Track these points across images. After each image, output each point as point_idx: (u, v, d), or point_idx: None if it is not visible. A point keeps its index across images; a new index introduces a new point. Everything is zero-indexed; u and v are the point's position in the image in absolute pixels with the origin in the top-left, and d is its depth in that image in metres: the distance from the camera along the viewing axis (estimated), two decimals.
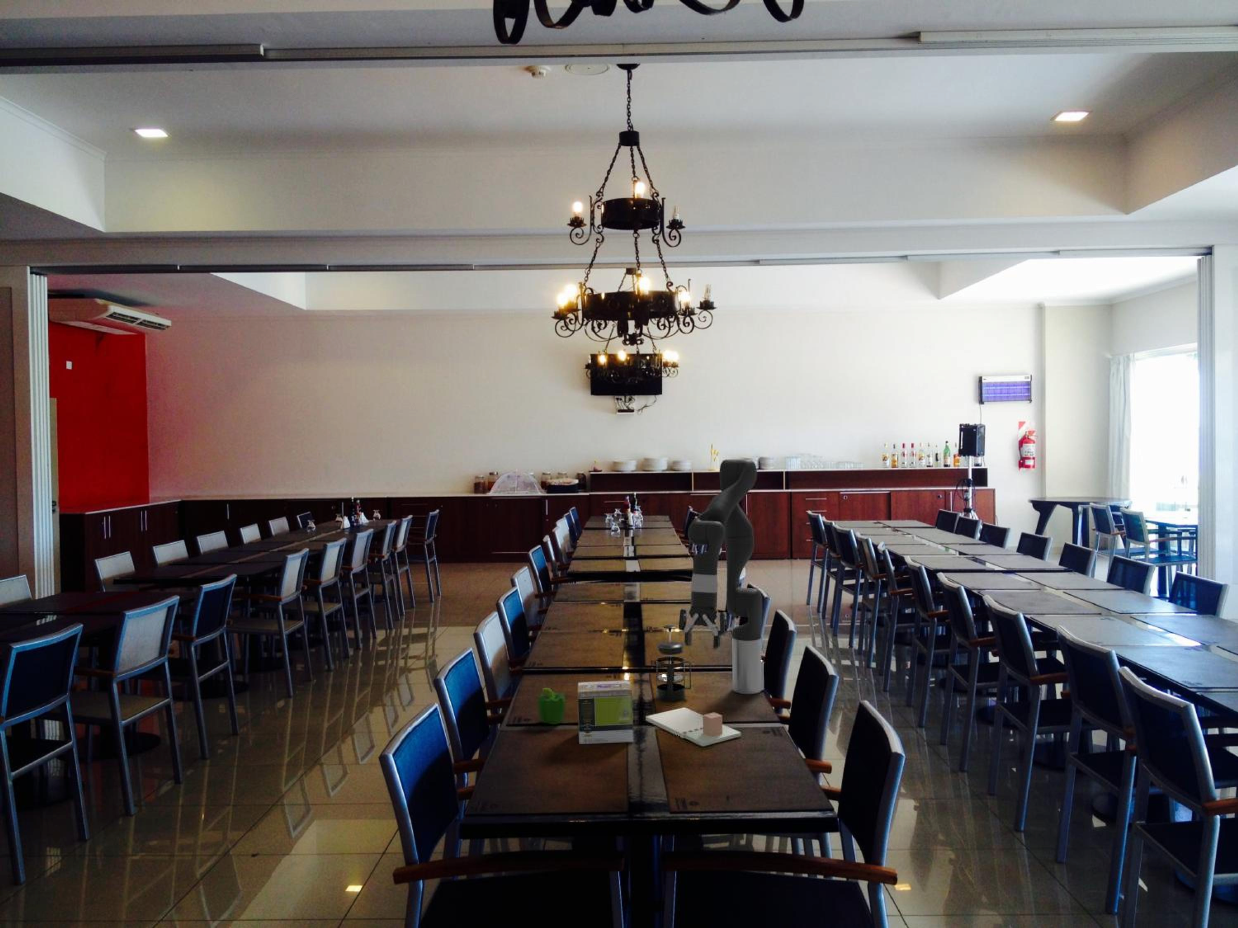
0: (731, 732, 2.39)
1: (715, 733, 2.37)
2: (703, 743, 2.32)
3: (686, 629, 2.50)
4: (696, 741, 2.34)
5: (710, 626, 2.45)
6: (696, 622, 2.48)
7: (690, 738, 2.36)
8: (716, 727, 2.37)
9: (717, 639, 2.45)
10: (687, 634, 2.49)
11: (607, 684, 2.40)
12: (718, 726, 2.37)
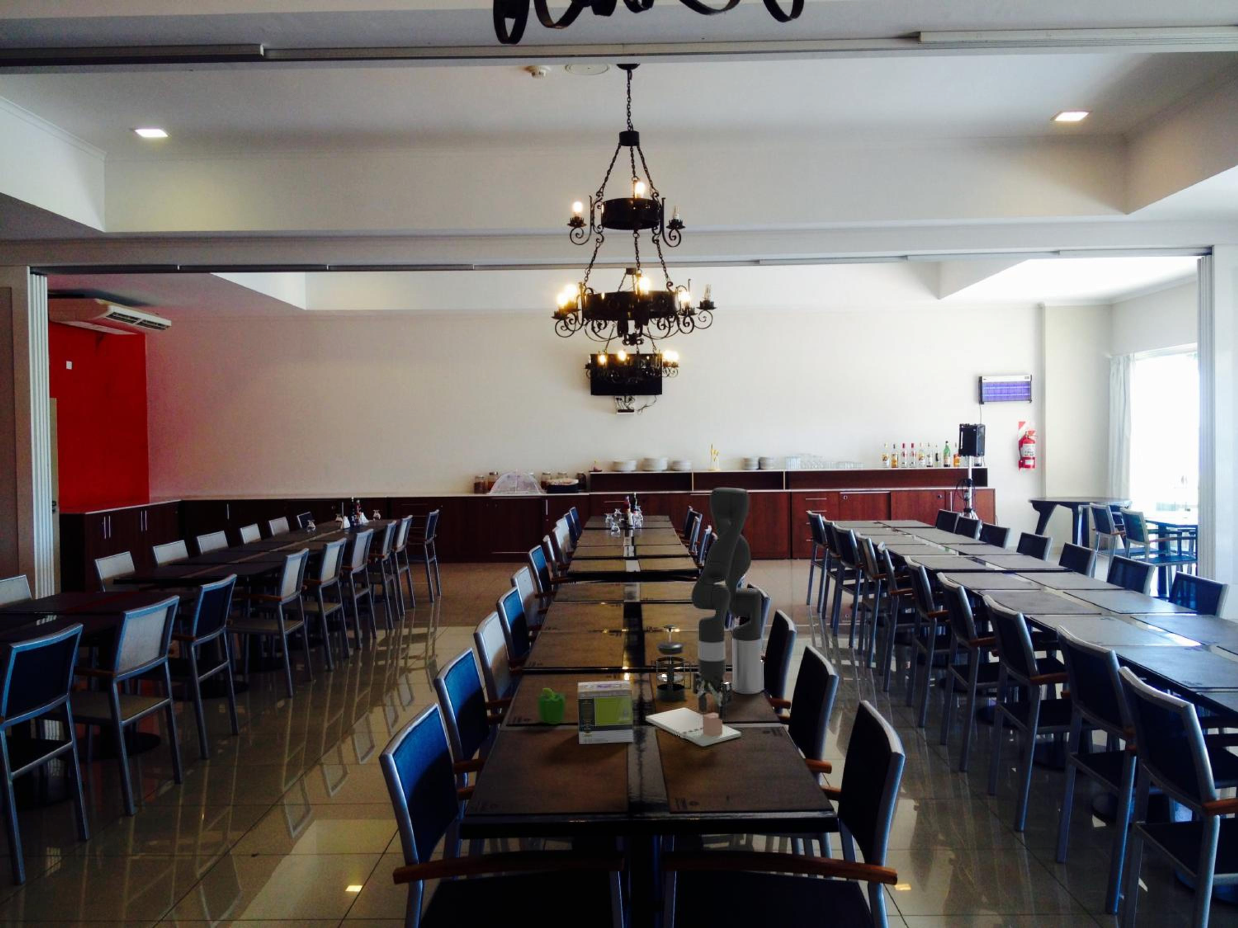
0: (731, 732, 2.39)
1: (715, 733, 2.37)
2: (703, 743, 2.32)
3: (698, 694, 2.41)
4: (696, 741, 2.34)
5: (714, 695, 2.34)
6: (705, 689, 2.38)
7: (690, 738, 2.36)
8: (716, 727, 2.37)
9: (721, 710, 2.33)
10: (699, 699, 2.41)
11: (607, 684, 2.40)
12: (718, 726, 2.37)
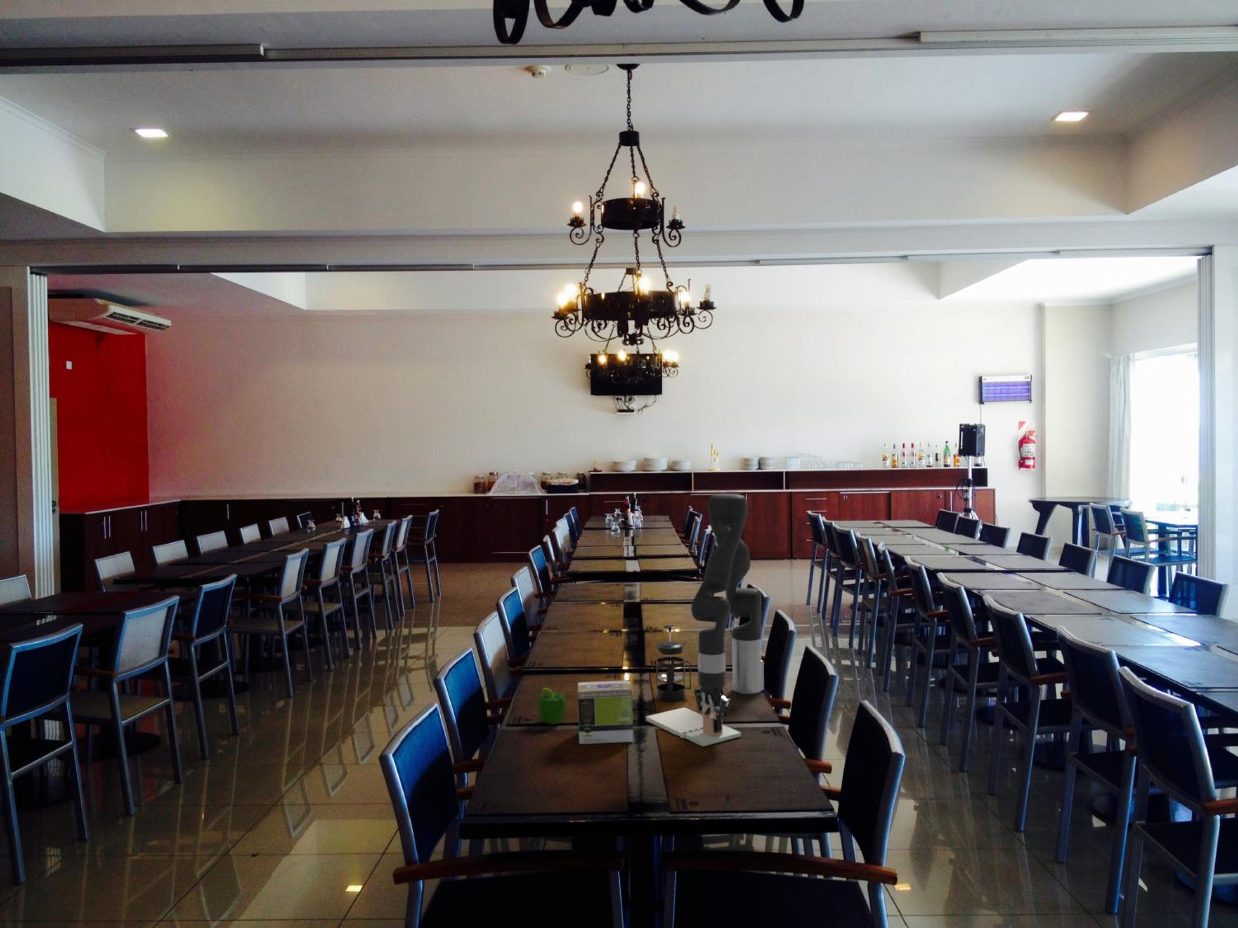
0: (731, 732, 2.39)
1: (715, 733, 2.37)
2: (703, 743, 2.32)
3: (703, 711, 2.39)
4: (696, 741, 2.34)
5: (711, 708, 2.36)
6: (707, 701, 2.38)
7: (690, 738, 2.36)
8: None
9: (716, 723, 2.35)
10: None
11: (607, 684, 2.40)
12: None
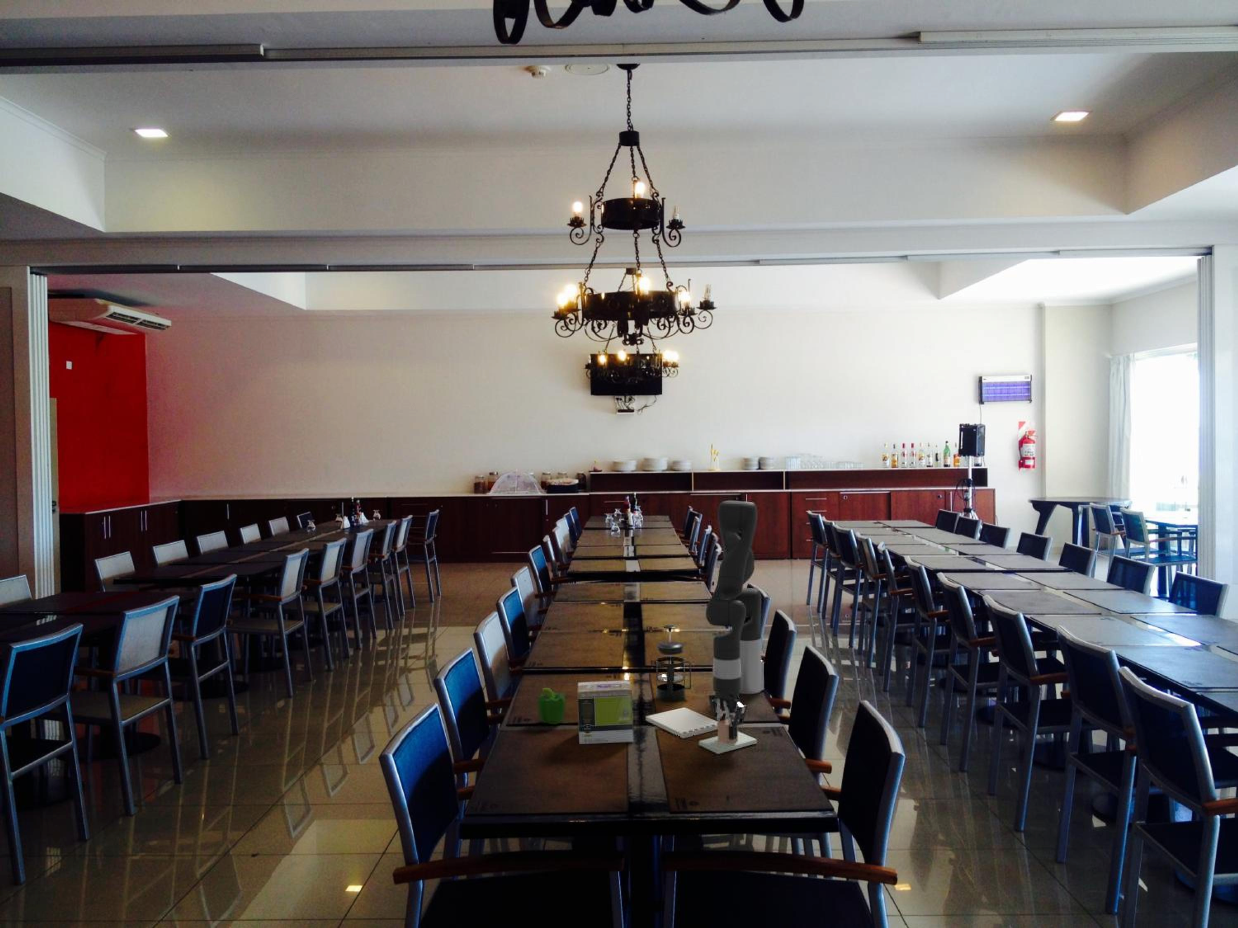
0: (747, 739, 2.33)
1: (731, 740, 2.31)
2: (718, 750, 2.26)
3: (718, 718, 2.34)
4: (711, 748, 2.28)
5: (726, 715, 2.30)
6: (722, 707, 2.33)
7: (705, 745, 2.30)
8: None
9: (732, 730, 2.30)
10: None
11: (607, 684, 2.40)
12: None
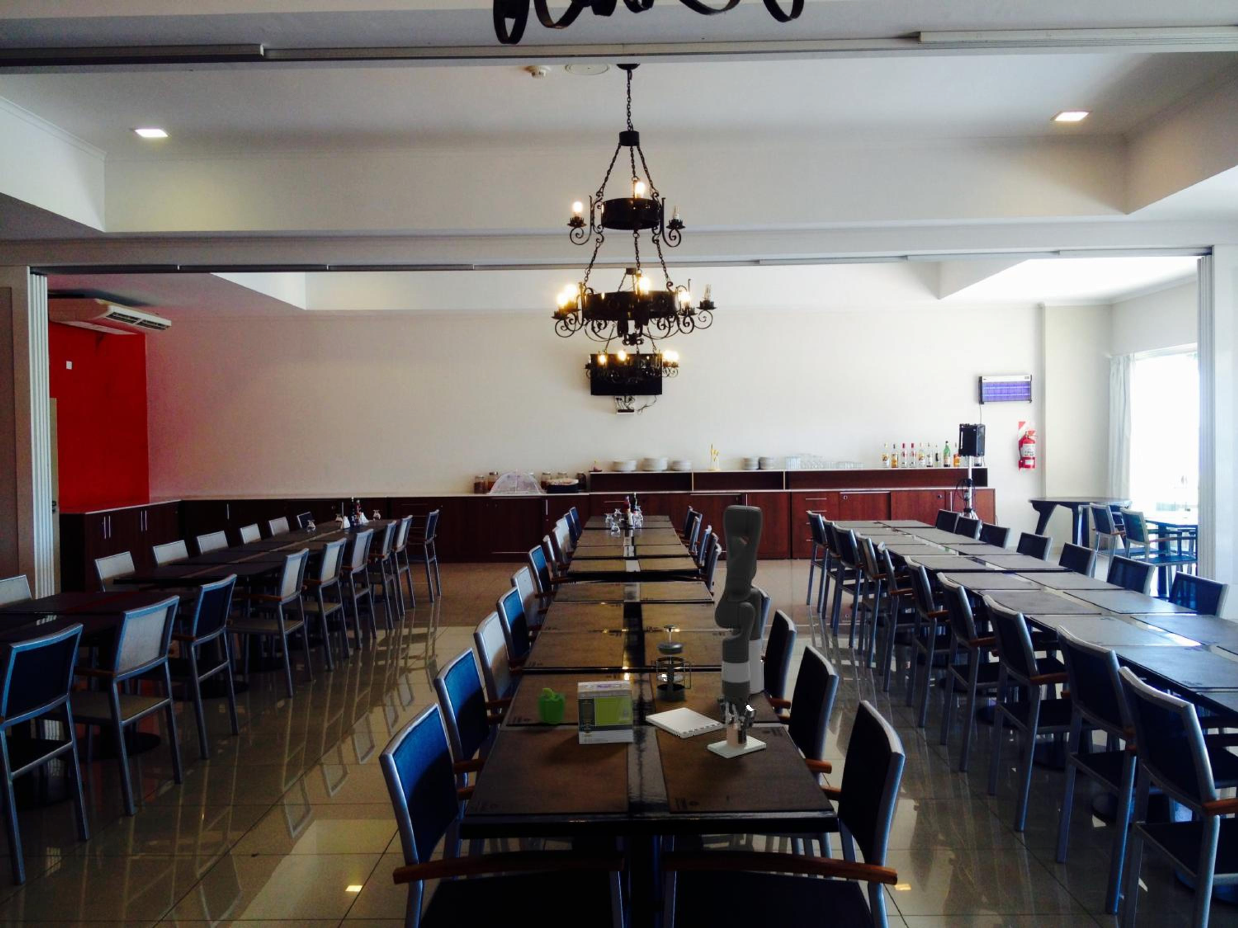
0: (756, 743, 2.30)
1: (740, 744, 2.28)
2: (727, 755, 2.23)
3: (727, 721, 2.31)
4: (720, 753, 2.25)
5: (736, 718, 2.27)
6: (731, 711, 2.29)
7: (714, 749, 2.27)
8: None
9: (741, 734, 2.27)
10: None
11: (607, 684, 2.40)
12: None
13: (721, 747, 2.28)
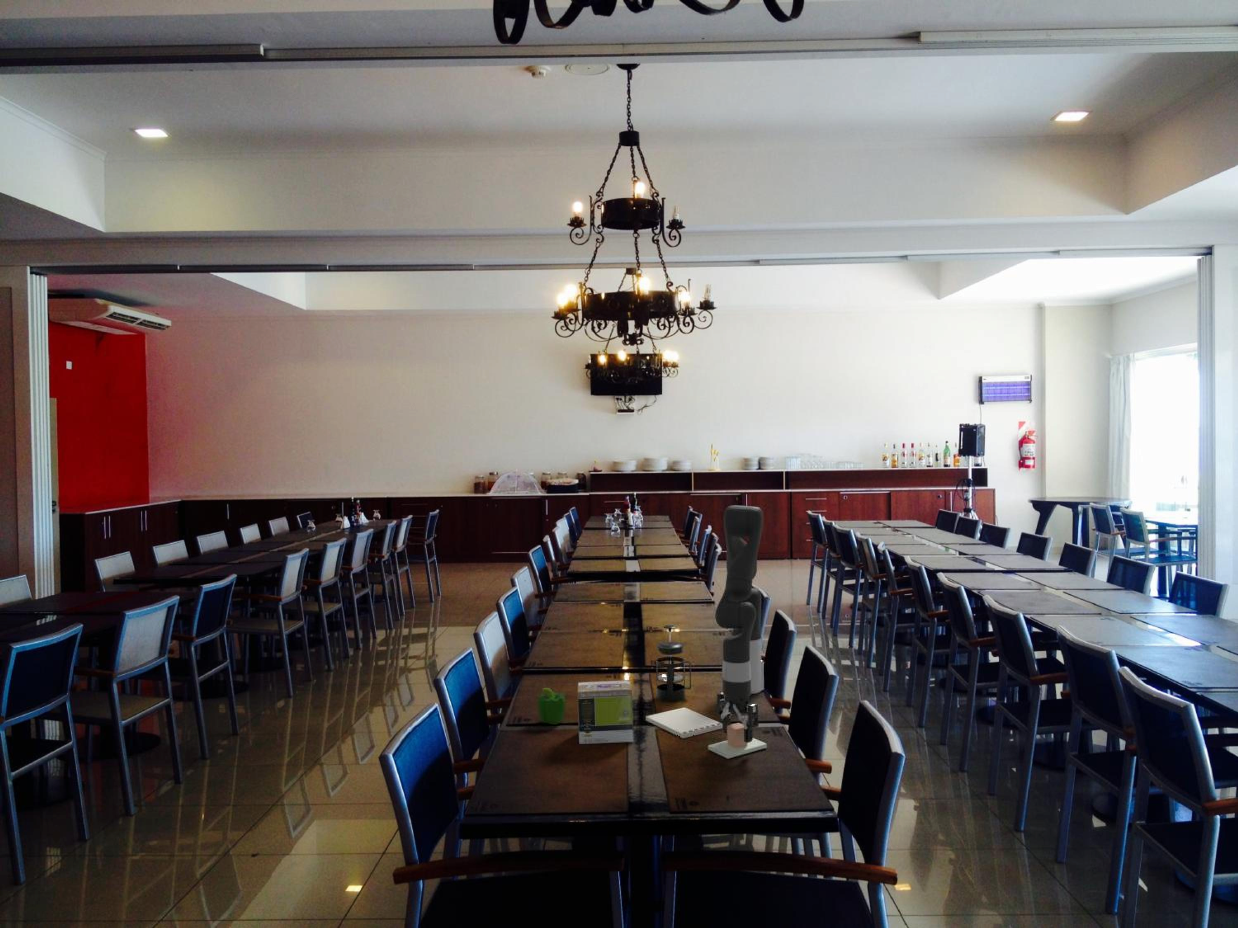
0: (756, 743, 2.30)
1: (740, 744, 2.28)
2: (728, 755, 2.23)
3: (722, 716, 2.32)
4: (721, 753, 2.25)
5: (739, 718, 2.26)
6: (730, 710, 2.30)
7: (714, 750, 2.27)
8: (741, 738, 2.28)
9: (747, 732, 2.25)
10: (723, 721, 2.32)
11: (607, 684, 2.40)
12: (743, 737, 2.28)
13: (722, 747, 2.28)
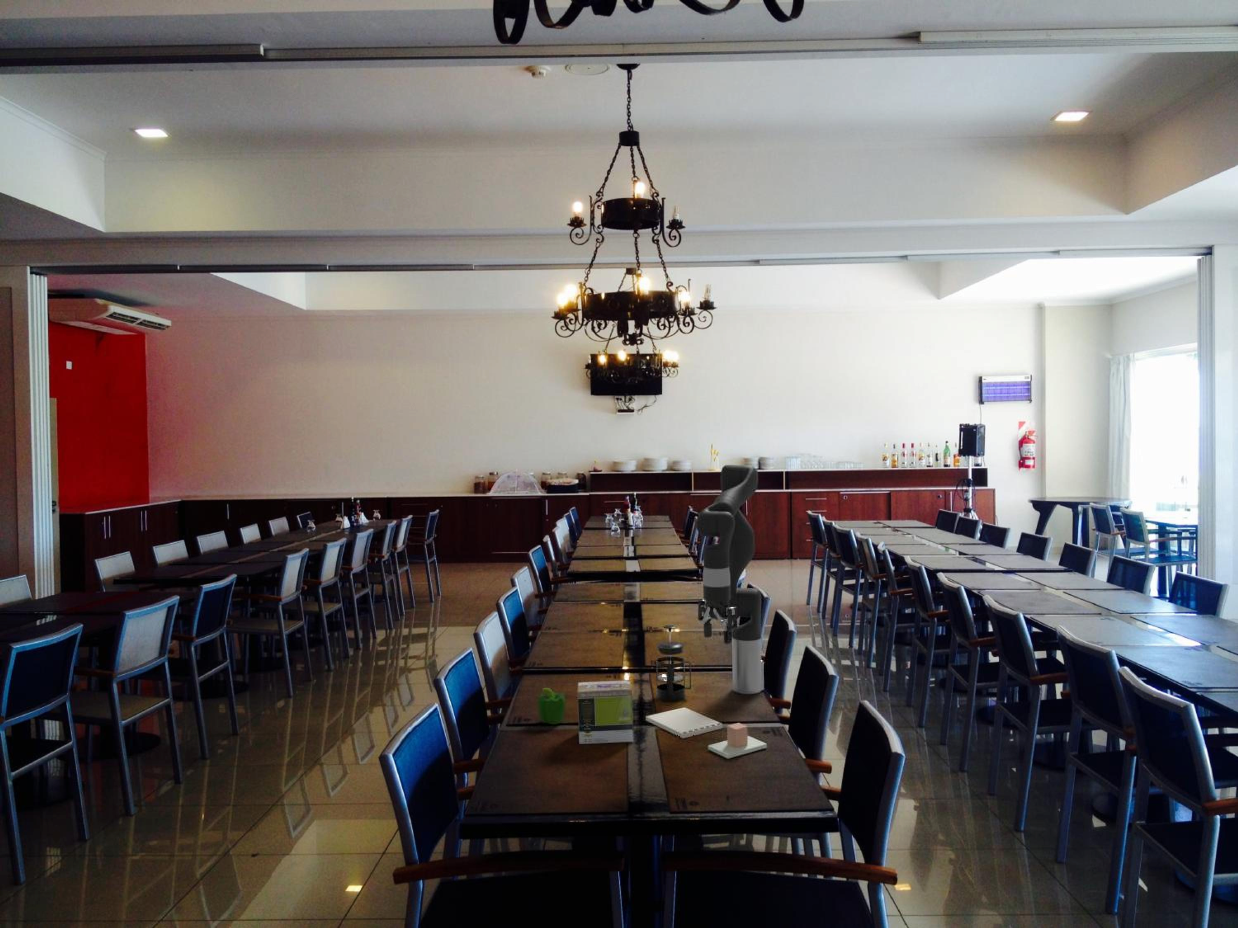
0: (756, 743, 2.30)
1: (740, 744, 2.28)
2: (728, 755, 2.23)
3: (703, 621, 2.44)
4: (721, 753, 2.25)
5: (719, 621, 2.38)
6: (710, 615, 2.42)
7: (714, 750, 2.27)
8: (741, 738, 2.28)
9: (727, 634, 2.37)
10: (704, 626, 2.44)
11: (607, 684, 2.40)
12: (743, 737, 2.28)
13: (722, 747, 2.28)
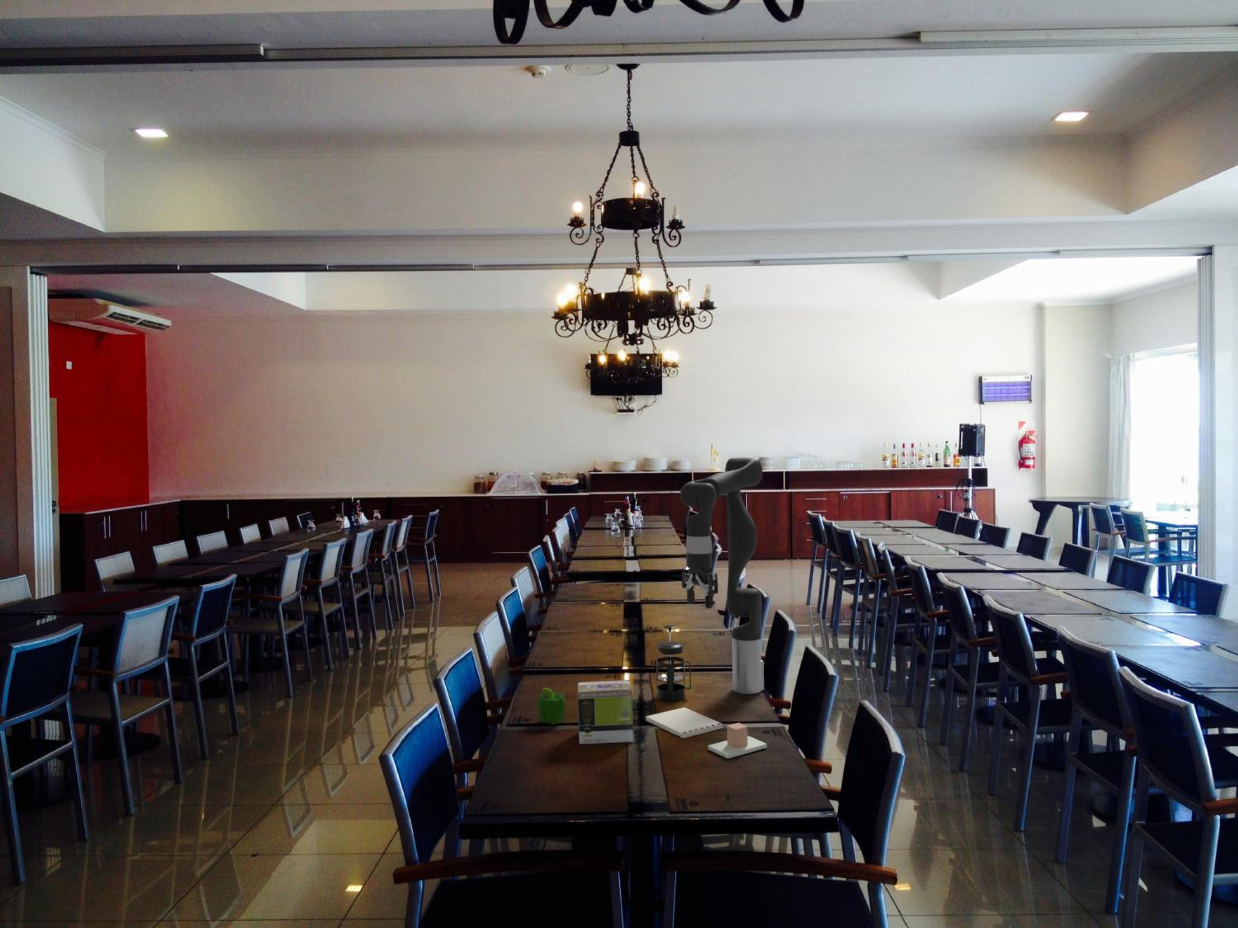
0: (756, 743, 2.30)
1: (740, 744, 2.28)
2: (728, 755, 2.23)
3: (686, 588, 2.57)
4: (721, 753, 2.25)
5: (701, 586, 2.50)
6: (693, 581, 2.55)
7: (714, 750, 2.27)
8: (741, 738, 2.28)
9: (708, 599, 2.50)
10: (688, 592, 2.57)
11: (607, 684, 2.40)
12: (743, 737, 2.28)
13: (722, 747, 2.28)
